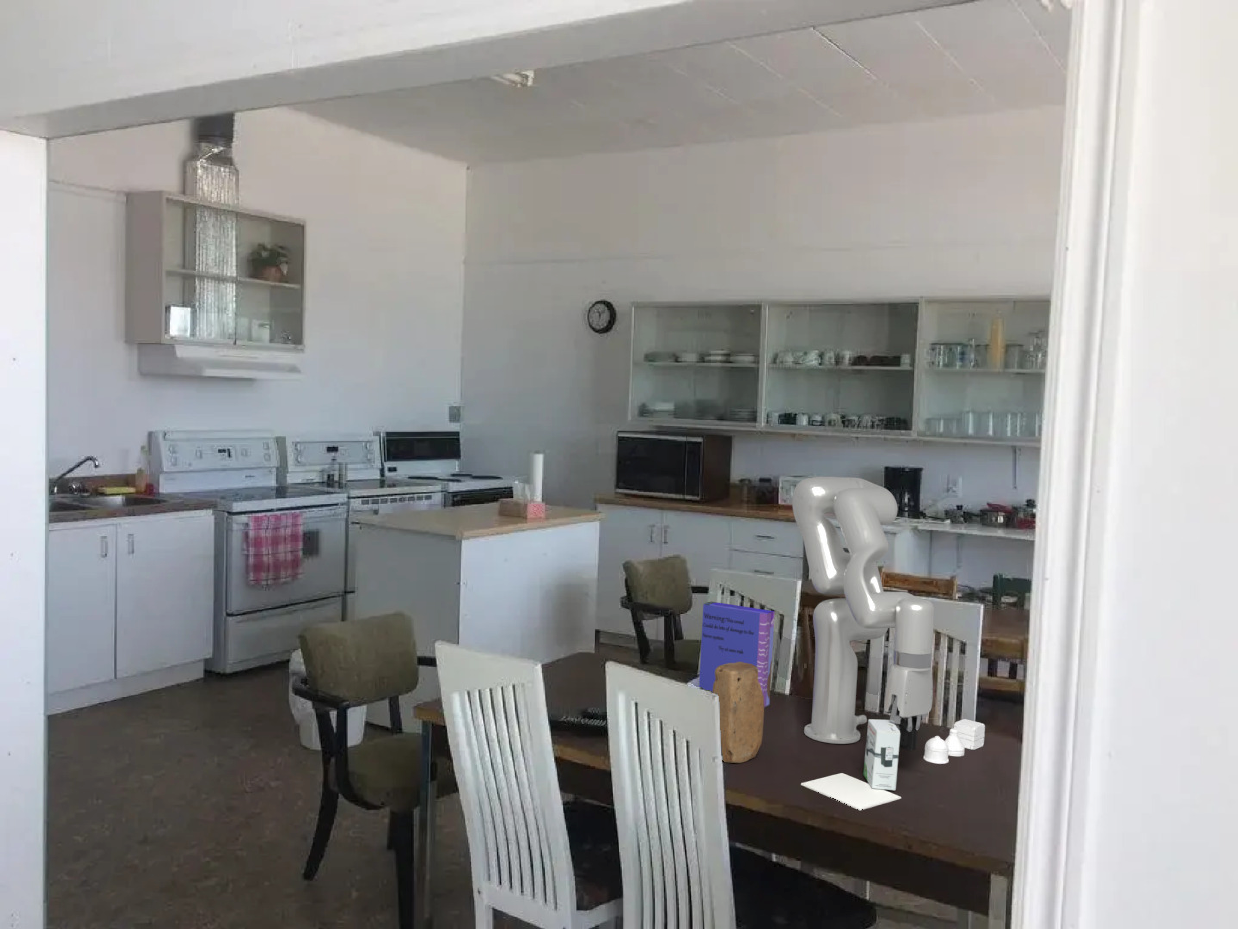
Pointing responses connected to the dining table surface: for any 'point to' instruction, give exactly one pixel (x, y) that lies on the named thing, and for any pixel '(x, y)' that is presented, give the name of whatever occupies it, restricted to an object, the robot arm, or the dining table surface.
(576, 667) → the dining table surface
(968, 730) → the container set
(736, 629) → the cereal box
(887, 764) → the ink box
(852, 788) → the mat
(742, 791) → the dining table surface
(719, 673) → the block
